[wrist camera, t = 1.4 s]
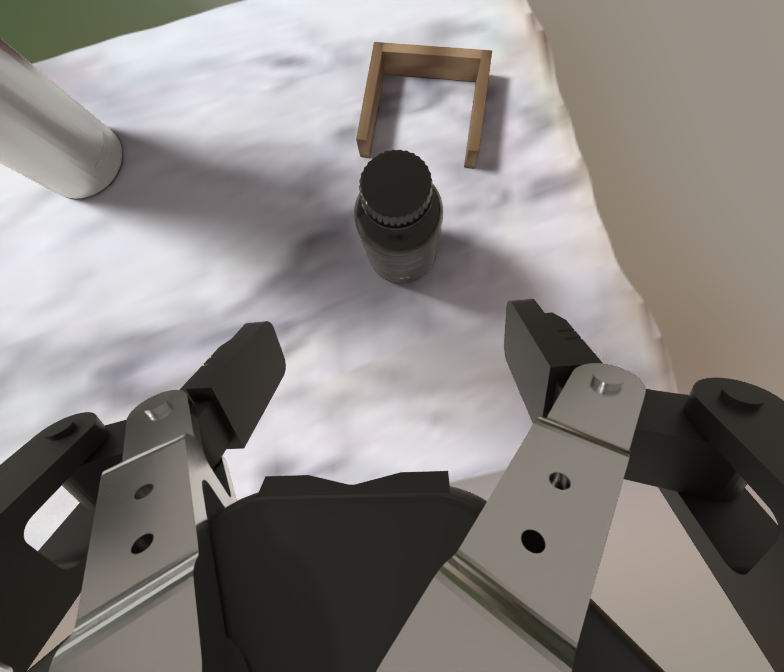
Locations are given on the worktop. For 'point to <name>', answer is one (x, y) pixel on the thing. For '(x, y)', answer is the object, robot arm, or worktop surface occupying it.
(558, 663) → the robot arm
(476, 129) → the walnut frame
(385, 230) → the supplement bottle
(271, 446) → the worktop surface
